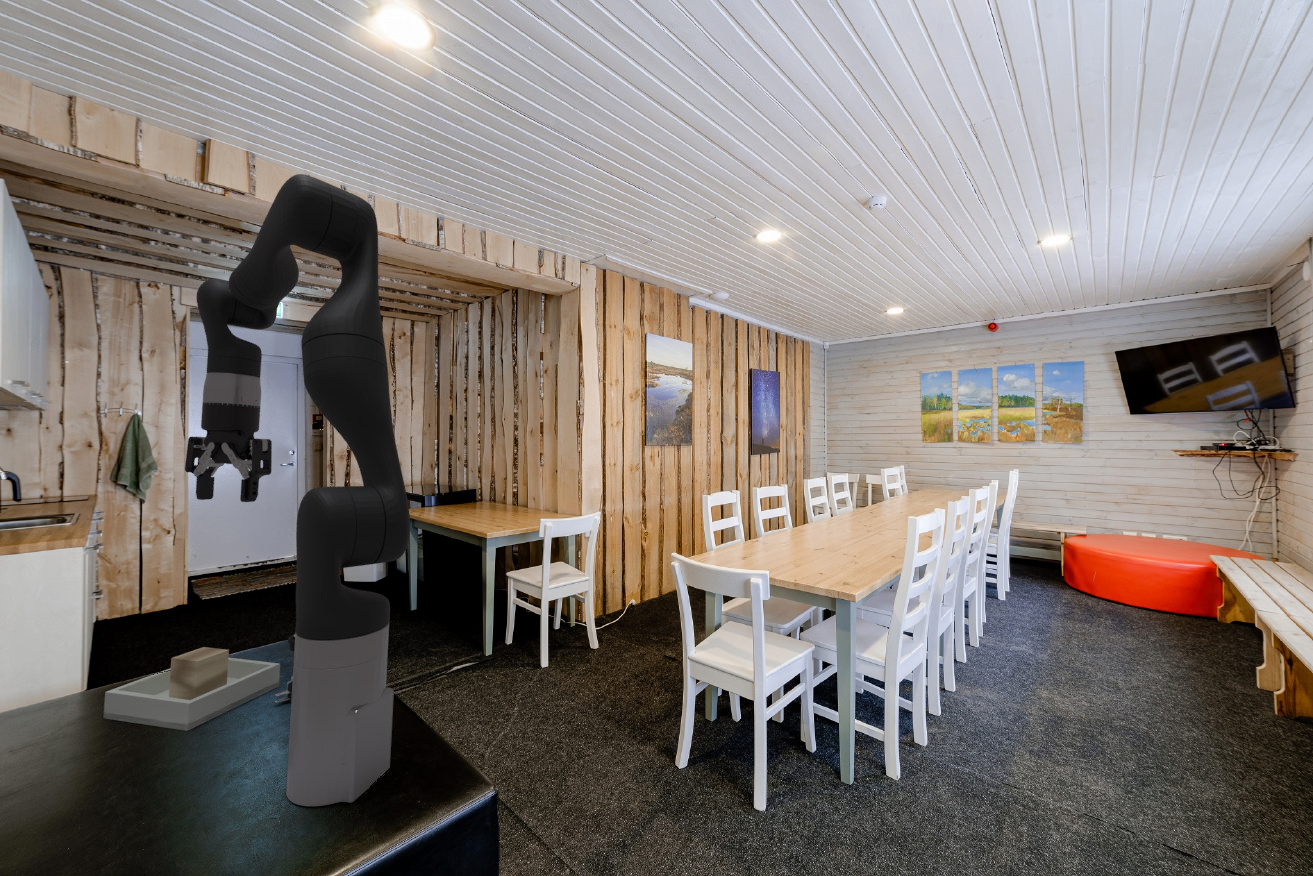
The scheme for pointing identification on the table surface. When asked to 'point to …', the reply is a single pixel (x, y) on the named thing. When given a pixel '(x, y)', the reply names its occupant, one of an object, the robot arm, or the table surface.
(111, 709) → the tray
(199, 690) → the pine block
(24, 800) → the table surface
